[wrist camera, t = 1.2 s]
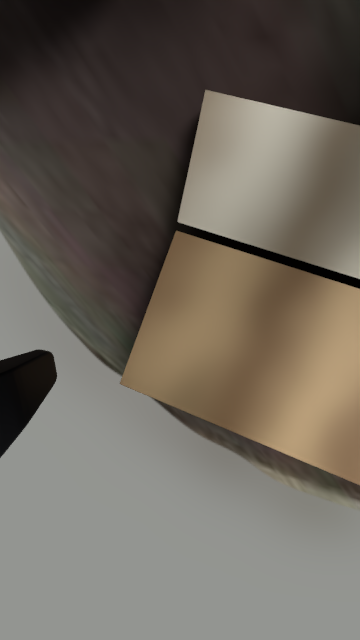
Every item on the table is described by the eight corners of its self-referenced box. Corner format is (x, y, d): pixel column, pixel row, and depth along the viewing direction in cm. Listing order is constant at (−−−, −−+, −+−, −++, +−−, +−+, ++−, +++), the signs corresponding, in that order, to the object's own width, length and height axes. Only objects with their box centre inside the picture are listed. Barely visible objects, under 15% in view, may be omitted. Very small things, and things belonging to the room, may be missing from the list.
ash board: (525, 169, 14) (556, 171, 12) (440, 293, 17) (455, 309, 15) (215, 97, 17) (205, 89, 15) (188, 216, 20) (177, 222, 18)
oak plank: (423, 319, 18) (447, 316, 16) (365, 477, 18) (381, 494, 16) (182, 241, 20) (176, 230, 18) (131, 379, 20) (119, 383, 18)
